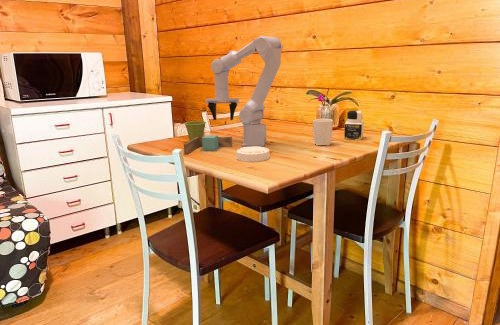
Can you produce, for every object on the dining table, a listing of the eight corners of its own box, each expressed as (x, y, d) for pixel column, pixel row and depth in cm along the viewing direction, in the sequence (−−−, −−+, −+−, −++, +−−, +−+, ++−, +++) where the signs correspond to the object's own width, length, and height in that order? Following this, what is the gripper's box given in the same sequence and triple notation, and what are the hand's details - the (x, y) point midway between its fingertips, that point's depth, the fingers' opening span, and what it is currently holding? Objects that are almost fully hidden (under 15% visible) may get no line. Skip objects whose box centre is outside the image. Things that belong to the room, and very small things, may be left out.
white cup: (334, 142, 157) (334, 118, 155) (329, 146, 151) (330, 121, 148) (315, 141, 161) (316, 118, 158) (310, 145, 154) (310, 121, 151)
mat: (221, 147, 156) (221, 146, 156) (216, 151, 149) (216, 150, 149) (205, 147, 157) (205, 146, 157) (199, 151, 150) (199, 150, 150)
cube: (218, 147, 155) (217, 135, 153) (214, 150, 150) (214, 137, 149) (206, 147, 156) (206, 135, 154) (202, 150, 151) (202, 137, 150)
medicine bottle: (344, 139, 163) (344, 111, 160) (346, 136, 170) (347, 109, 167) (361, 140, 161) (362, 112, 158) (363, 137, 167) (364, 109, 164)
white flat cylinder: (235, 163, 132) (234, 153, 131) (237, 154, 143) (237, 145, 142) (269, 162, 131) (269, 152, 130) (269, 154, 143) (269, 144, 142)
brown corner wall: (232, 146, 157) (231, 136, 156) (222, 155, 142) (221, 144, 141) (197, 145, 160) (197, 136, 159) (184, 154, 146) (183, 144, 145)
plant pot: (203, 144, 163) (202, 124, 160) (182, 144, 165) (181, 124, 162) (209, 140, 172) (208, 121, 169) (190, 139, 173) (188, 121, 171)
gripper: (202, 89, 160) (204, 121, 164) (235, 88, 157) (237, 121, 161) (207, 88, 167) (209, 118, 170) (239, 87, 164) (241, 118, 167)
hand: (223, 119), depth 166 cm, fingers open, 7 cm apart
